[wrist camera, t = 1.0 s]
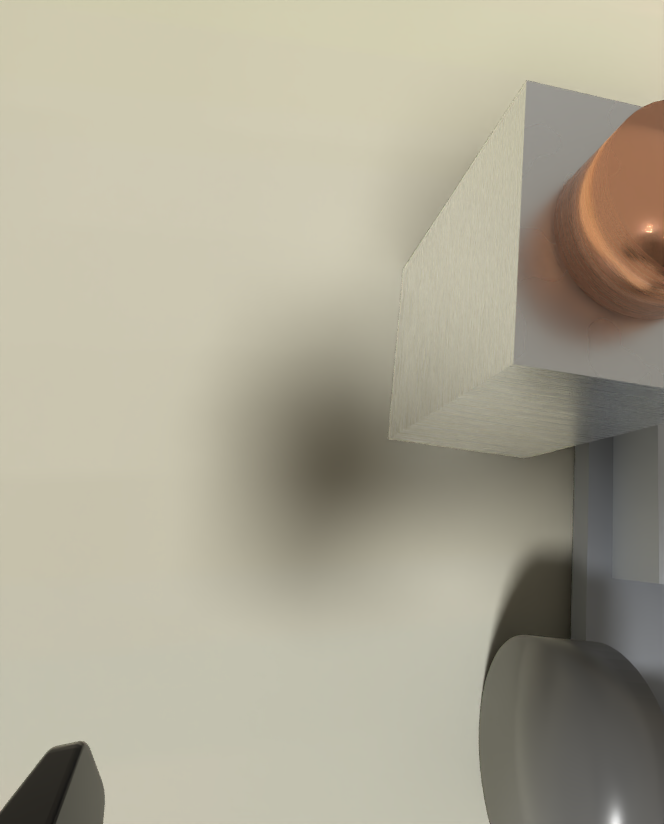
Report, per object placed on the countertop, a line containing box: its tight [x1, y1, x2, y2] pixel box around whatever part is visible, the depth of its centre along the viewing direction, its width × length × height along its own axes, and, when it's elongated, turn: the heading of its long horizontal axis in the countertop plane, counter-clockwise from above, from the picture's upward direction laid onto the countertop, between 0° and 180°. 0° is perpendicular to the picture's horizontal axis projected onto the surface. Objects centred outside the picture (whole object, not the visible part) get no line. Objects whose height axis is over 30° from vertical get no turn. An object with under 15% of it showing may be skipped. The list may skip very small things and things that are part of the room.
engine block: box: [388, 80, 664, 458], centre depth 18 cm, size 7×6×12 cm
